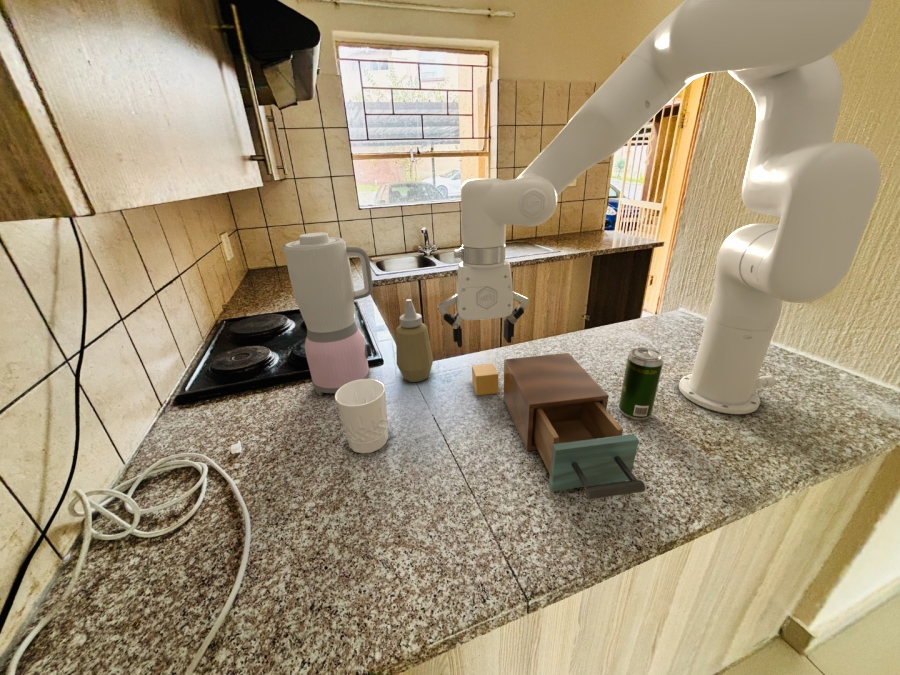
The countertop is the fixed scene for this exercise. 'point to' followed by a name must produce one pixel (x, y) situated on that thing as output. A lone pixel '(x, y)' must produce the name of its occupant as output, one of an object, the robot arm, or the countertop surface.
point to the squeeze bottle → (413, 346)
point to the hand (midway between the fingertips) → (483, 342)
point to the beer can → (640, 383)
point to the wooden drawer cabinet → (545, 388)
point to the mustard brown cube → (484, 379)
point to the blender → (329, 308)
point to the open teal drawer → (586, 449)
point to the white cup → (363, 414)
